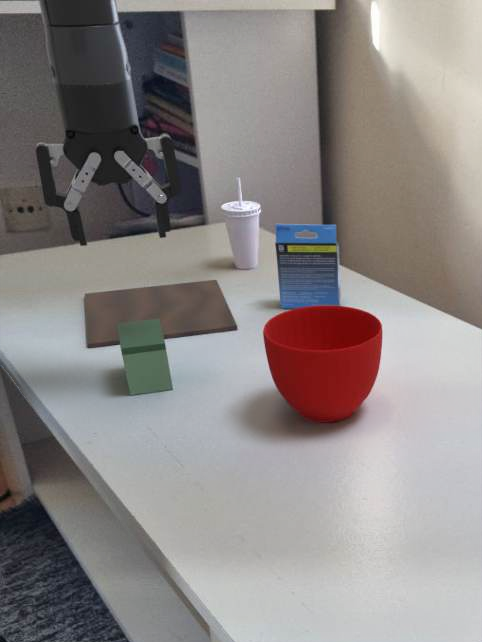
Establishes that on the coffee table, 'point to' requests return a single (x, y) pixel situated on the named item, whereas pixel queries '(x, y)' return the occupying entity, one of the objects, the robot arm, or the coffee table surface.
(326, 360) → the ceramic cup
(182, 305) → the walnut board
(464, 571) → the coffee table surface
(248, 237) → the smoothie
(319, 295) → the label tape box
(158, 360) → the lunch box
